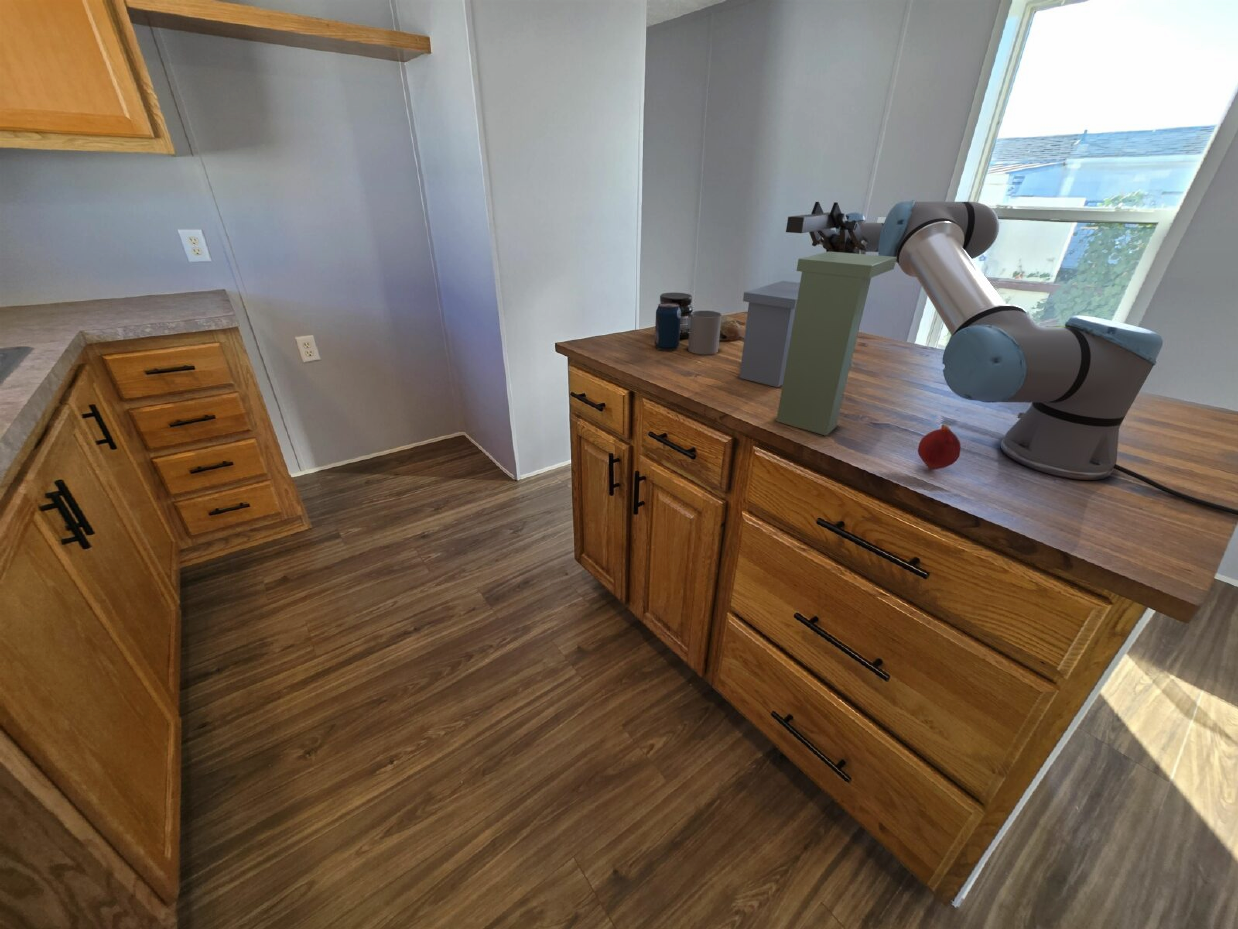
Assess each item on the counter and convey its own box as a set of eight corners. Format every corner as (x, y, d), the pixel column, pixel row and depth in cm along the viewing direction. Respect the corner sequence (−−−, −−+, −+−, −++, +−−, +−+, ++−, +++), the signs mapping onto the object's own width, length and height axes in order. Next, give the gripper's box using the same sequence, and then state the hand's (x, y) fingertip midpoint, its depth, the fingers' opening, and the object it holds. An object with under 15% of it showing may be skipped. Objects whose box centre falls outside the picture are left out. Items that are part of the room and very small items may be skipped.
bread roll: (705, 350, 154) (707, 329, 148) (706, 328, 160) (708, 307, 153) (738, 352, 153) (741, 331, 146) (738, 329, 158) (742, 308, 152)
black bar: (839, 227, 120) (842, 212, 118) (801, 233, 105) (804, 217, 104) (824, 226, 122) (827, 212, 120) (785, 232, 107) (788, 216, 106)
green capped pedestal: (856, 414, 103) (896, 256, 88) (831, 437, 94) (871, 265, 79) (800, 400, 110) (828, 251, 95) (771, 419, 101) (798, 258, 86)
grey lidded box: (814, 368, 129) (830, 286, 119) (780, 389, 115) (795, 299, 105) (770, 358, 135) (782, 280, 126) (733, 377, 122) (743, 291, 112)
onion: (952, 466, 84) (969, 423, 80) (951, 481, 80) (968, 436, 76) (914, 457, 87) (928, 415, 83) (910, 471, 83) (925, 427, 79)
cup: (717, 355, 138) (721, 318, 133) (687, 353, 139) (689, 316, 134) (718, 346, 145) (722, 311, 140) (689, 345, 146) (692, 309, 142)
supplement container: (663, 329, 161) (665, 290, 155) (695, 333, 157) (698, 293, 152) (651, 337, 153) (652, 296, 147) (684, 342, 149) (687, 300, 143)
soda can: (683, 347, 144) (686, 304, 138) (669, 352, 140) (671, 308, 134) (664, 343, 148) (666, 300, 142) (649, 348, 144) (651, 304, 138)
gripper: (871, 272, 129) (855, 226, 110) (808, 265, 138) (783, 222, 119) (882, 243, 128) (868, 192, 109) (818, 238, 137) (795, 190, 118)
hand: (824, 207), depth 114 cm, fingers closed on black bar, 3 cm apart
